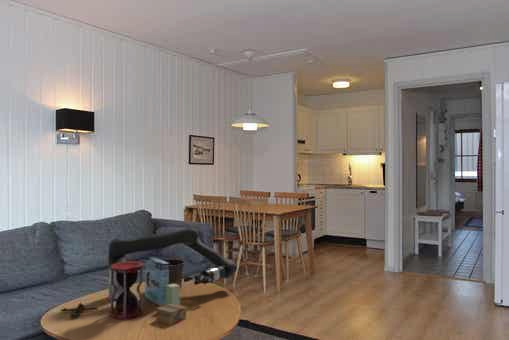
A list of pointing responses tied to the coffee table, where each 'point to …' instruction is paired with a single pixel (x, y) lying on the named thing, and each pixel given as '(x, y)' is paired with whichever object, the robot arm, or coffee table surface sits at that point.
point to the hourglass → (126, 290)
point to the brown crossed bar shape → (78, 310)
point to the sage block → (173, 294)
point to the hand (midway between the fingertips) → (189, 281)
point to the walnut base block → (171, 313)
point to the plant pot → (175, 271)
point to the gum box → (156, 280)
